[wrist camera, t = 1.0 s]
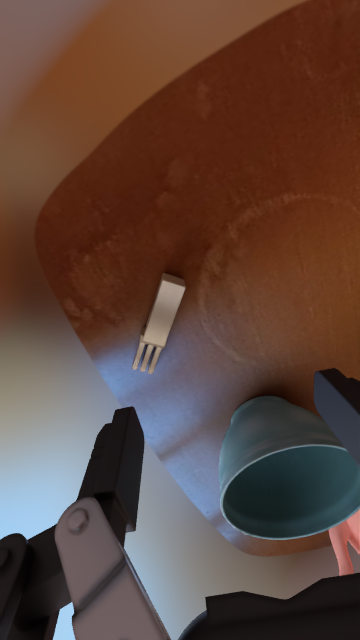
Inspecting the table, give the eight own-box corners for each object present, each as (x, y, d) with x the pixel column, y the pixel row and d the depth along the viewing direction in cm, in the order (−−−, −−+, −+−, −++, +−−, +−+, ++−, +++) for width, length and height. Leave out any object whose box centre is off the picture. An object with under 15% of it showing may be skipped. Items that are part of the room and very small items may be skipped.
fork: (160, 271, 27) (159, 278, 24) (186, 280, 27) (188, 288, 24) (131, 361, 31) (128, 376, 28) (154, 367, 32) (153, 383, 29)
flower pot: (246, 472, 40) (271, 556, 31) (183, 417, 35) (189, 498, 25) (335, 422, 37) (397, 500, 27) (280, 352, 31) (332, 417, 22)
